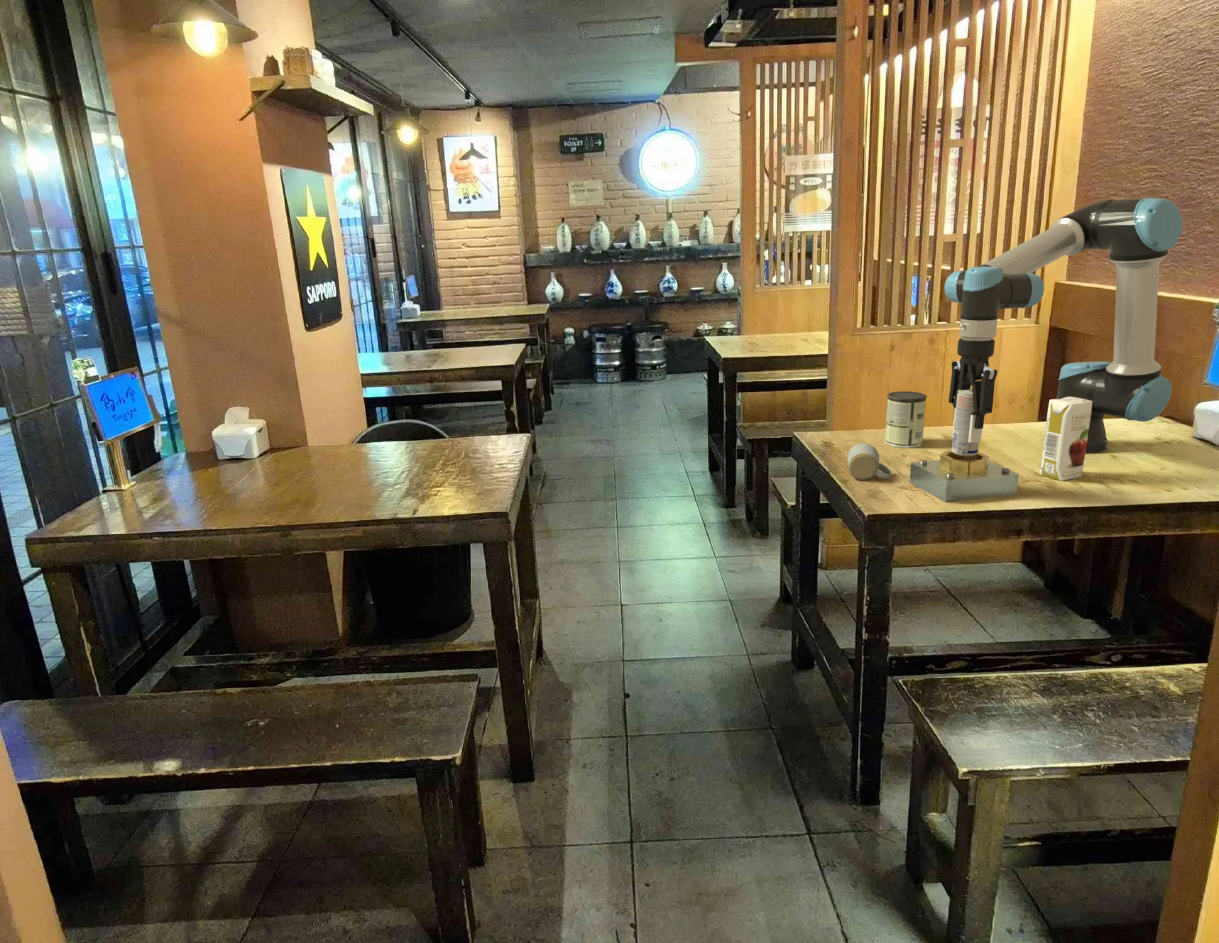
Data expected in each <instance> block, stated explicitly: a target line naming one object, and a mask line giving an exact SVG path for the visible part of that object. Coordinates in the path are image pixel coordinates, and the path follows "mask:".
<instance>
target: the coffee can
mask: <svg viewBox="0 0 1219 943" xmlns="http://www.w3.org/2000/svg"><path fill="white" fill-rule="evenodd" d="M927 397H928V396H927V395H926V394H925V393H922V392H918V391H906V390H905V391H903V390H902V391H894V392H893V391H892V392H889V393H887V404H886V405H887V408H886V418H885V419H886V420H885V421H886V422H885V423H886V424H885V437H884V438H885V439H884V443H885V445H886V446H889V447H894V448H899V449H900V448H901V449H915V448H919V447H921V446H923V444H924V443H923V441H924V428H925V416H926V415H925V414H926V404H927V403H926V402H927Z"/></svg>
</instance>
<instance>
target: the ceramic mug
mask: <svg viewBox="0 0 1219 943" xmlns="http://www.w3.org/2000/svg"><path fill="white" fill-rule="evenodd" d="M847 468H848V472H849V474H850V475H851V476H852V477H854V478H855V479H856V480H862V481H864V480H869V479H872V478H873V477H874V476H876V477H878V478H880V479H884V480H889V479H890V478H891V476H892V474H893V472H892V471H891V470H890V468H889V467H887V466H886V465H884V464H882V463H881V462H880V454H879V452H878V450H877V449H876V447H875V446H873V445H871V444H870V443H866V442H864V443H863V442H862V443H861V442H860V443H857V444H854V445H853V446H852V447H851V448H850V449H849V451H848V453H847Z"/></svg>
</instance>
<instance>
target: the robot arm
mask: <svg viewBox="0 0 1219 943" xmlns="http://www.w3.org/2000/svg"><path fill="white" fill-rule="evenodd" d="M1182 230H1183V217H1182V214H1181V211H1180V209H1179V207H1178V206H1177V205H1176V204H1175V203H1174V202H1173V201H1172V200H1170V199H1167V198H1160V197H1159V198H1156V197H1155V198H1154V197H1141V198H1140V197H1138V198H1125V199H1105V200H1099V201H1097V202H1093V203H1091V204H1088V205H1086V206H1083V207H1081V208H1079V209H1077V210H1074V211H1072V212H1070V213H1068V214H1066V215H1064V216H1062V217H1060V218H1059V219H1057V220H1056V221H1054V222H1053V223H1052V224H1051V226H1050V228H1048V229H1046V230H1045V231H1043V232H1041V233H1038V234H1037V235H1036V236H1034V237H1032V238H1029V239H1028V240H1026V241H1024V242H1022V243H1021V244H1018V245H1017V246H1014V247H1013V248H1011V249H1009V250H1007V251H1006V252H1003V253H1001V254H999V255H998V256H996V257H994V258H992V259H990V260H988V261H987V262H984V263H983V264H980V265H978V266H972V267H969V268H968V269H967V270H957V271H954V272H952V273H950V275H948V277H947V279H946V281H945V283H944V287H943V288H944V294H945V296H946V299H947V300H948V301H950V302H953V303H958V304H960V305H961V310H960V311H961V314H960V323H959V332H958V333H959V334H958V335H959V337H960V338H959V339H958V341H957V350H956V351H957V355H958V356H960V358H959V360H955V361H953V360H952V362H951V378H950V379H951V380H950V386H949V395H948V403H949V404H952V406H953V416H952V417H953V424H952V436H953V433H954V423H955V413H956V403H957V394H958V390H967V389H972V392H973V406H974V412H973V413H971V420H970V429H969V439H968V442H970V443H972V442H979V443H981V442H982V435H983V428H984V423H985V416H986V415H987V414H992V413H993V407H994V395H995V385H996V384H995V383H996V378H997V375H998V370H997V369H992V368H991V367H990V362H989V359H990V358H991V357H993V355H994V354H995V353H994V352H995V346H996V345H995V343H996V341H995V339H994V338H996V337H997V327H998V318H999V310H1007V309H1024V308H1028V307H1029V308H1030V307H1034V306H1035V305H1037V304H1038V303H1039V302H1040V301H1041V300H1042V298H1043V296H1044V293H1045V285H1044V280H1043V279H1042V278H1041V277H1040V275H1038V274H1035V273H1034V272H1036V271H1038V270H1040V269H1041V268H1043V267H1045V266H1047V265H1049V264H1051V263H1053V262H1055V261H1057V260H1058V259H1060V258H1062V257H1065V256H1066V257H1070V256H1074V255H1076V254H1078V253H1080V252H1083V251H1090V250H1109V261H1110V262H1111V263H1112V264H1114V265H1115V266H1116V281H1115V282H1116V283H1115V288H1116V289H1115V308H1114V309H1115V310H1114V333H1113V334H1114V337H1113V359H1112V360H1113V361H1112V362H1110V361H1077V362H1069V363H1066V364H1063V366H1062V367H1061V368H1060V373H1059V378H1058V379H1057V380H1058V384H1057V392H1056V393H1057V394H1056V399H1062V398H1065V397H1069V396H1070V397H1076V398H1082V399H1086V400H1090V401H1092V410H1091V417H1090V424H1089V431H1088V438H1087V445H1086V451H1085V454H1089V453H1091V454H1092V453H1100V452H1101V453H1102V452H1103V451H1106V450H1107V448H1108V447H1107V446H1108V443H1109V442H1108V438H1107V433H1106V427H1105V423H1104V416H1105V415H1107V416H1110V417H1115V418H1120V419H1125V420H1126V421H1130V422H1131V421H1135V422H1143V423H1144V422H1150V421H1152V420H1154V419H1156V418H1157V417H1158V416H1160V414H1161V413H1162V412H1163V411H1164V410H1165V409H1166V407H1167V405H1168V403H1169V401H1170V399H1171V395H1172V389H1173V386H1172V383H1171V382H1170V380H1169V379H1168V378H1166V377H1164V376H1162V375H1161V374H1162V365H1161V364H1160V363H1158V362H1157V361H1156V360H1155V349H1156V333H1157V332H1156V330H1157V315H1158V314H1157V313H1158V298H1159V297H1158V295H1159V294H1158V292H1159V279H1160V278H1159V276H1160V263H1161V262H1162V261H1163V260H1164V259H1165V258H1167V257H1168V255H1169V250H1170V249H1172V248H1173V247H1175V246H1176V244H1177V243H1178V241H1179V238H1180V237H1181V234H1182ZM1044 437H1045V435H1044Z"/></svg>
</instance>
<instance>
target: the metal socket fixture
mask: <svg viewBox="0 0 1219 943" xmlns="http://www.w3.org/2000/svg"><path fill="white" fill-rule="evenodd" d="M1019 476H1020V473H1018V472H1015V471H1014V470H1013V471H1012V470H1010V468H1008V467H1003V466H1000V465H999V464H997V463H994V462H992V461H990V456H989V455H986V454H984V453H982V452H980V451H978V454H976V455H974V456H959V455H956V454H954V453H953V452H952V450H945V451H943V452H942V453H941V454H940V458H939V459H938V460H924V459H921V460H919V461H916V462H914V461H913V462H910V473H909V483H910V484H911V485H913V486H915V487H918V488H919V489H921V490H923V491H924V492H926V493H928V494H930V495H931V496H933V497H935V498H937V499H939V500H941V501H943V502H944V503H949V502H960V501H961V502H962V501H969V500H971V501H972V500H979V499H990V498H998V497H1008V496H1009V497H1011V496H1016V495H1017V494H1018V487H1019V486H1018V485H1019V479H1020V477H1019Z"/></svg>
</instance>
